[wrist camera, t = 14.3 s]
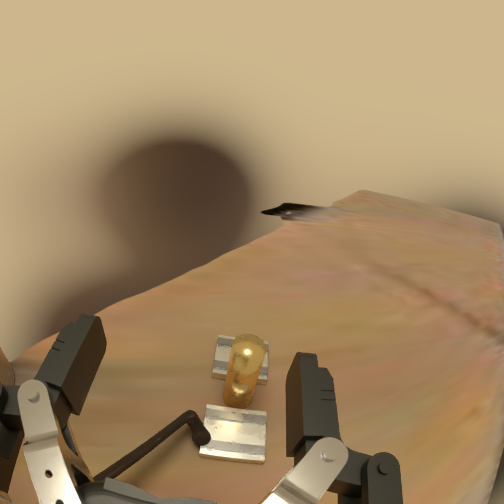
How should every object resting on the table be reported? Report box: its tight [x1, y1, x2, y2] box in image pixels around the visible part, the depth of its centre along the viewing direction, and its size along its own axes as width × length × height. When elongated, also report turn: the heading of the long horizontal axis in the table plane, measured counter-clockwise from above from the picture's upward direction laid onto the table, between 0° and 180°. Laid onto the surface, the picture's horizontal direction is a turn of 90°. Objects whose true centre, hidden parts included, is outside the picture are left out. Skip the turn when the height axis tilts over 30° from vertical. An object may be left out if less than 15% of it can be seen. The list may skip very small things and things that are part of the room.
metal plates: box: [199, 335, 268, 464], centre depth 41 cm, size 8×20×2 cm, turn 177°
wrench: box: [93, 410, 211, 481], centre depth 22 cm, size 5×5×30 cm
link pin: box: [223, 334, 267, 409], centre depth 38 cm, size 4×4×12 cm
